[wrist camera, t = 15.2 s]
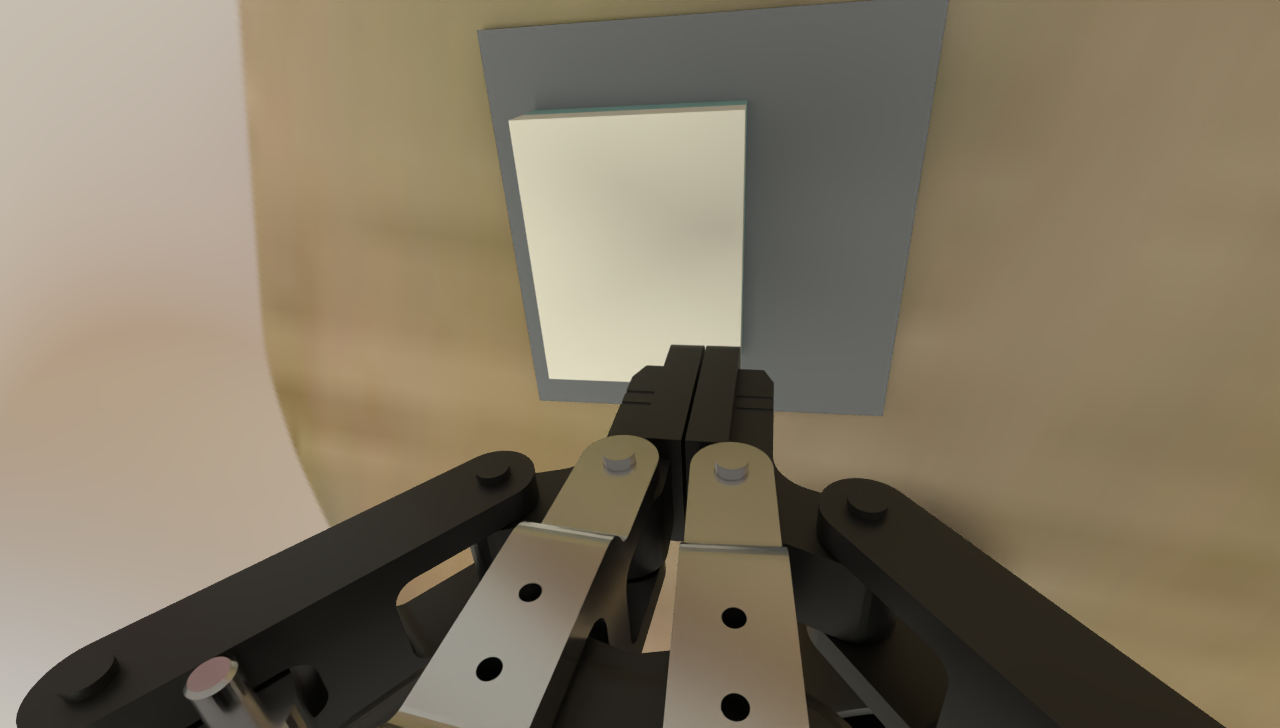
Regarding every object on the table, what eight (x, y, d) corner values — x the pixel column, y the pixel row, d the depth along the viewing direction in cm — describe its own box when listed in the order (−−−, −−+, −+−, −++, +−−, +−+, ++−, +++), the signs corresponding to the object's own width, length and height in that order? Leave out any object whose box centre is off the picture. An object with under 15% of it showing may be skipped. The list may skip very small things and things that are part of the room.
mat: (945, -5, 17) (949, -6, 17) (880, 409, 24) (882, 416, 23) (483, 30, 20) (477, 30, 19) (543, 394, 26) (539, 400, 26)
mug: (812, 687, 33) (827, 891, 25) (735, 529, 28) (724, 720, 21) (1003, 668, 30) (1086, 897, 22) (950, 486, 25) (1033, 694, 17)
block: (745, 109, 17) (508, 120, 18) (739, 386, 21) (549, 378, 22) (747, 100, 19) (534, 110, 20) (741, 353, 23) (567, 348, 24)
